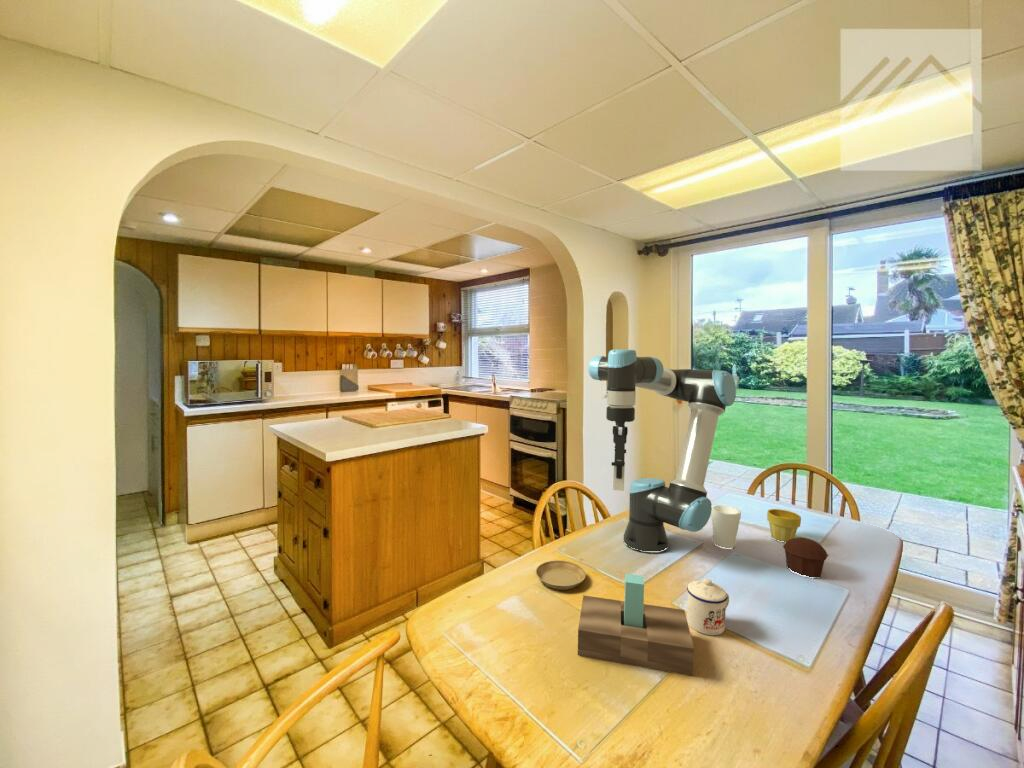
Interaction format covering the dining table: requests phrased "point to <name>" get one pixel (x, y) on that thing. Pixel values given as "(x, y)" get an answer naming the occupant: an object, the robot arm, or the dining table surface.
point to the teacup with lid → (706, 607)
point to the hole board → (636, 636)
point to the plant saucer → (560, 574)
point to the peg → (634, 600)
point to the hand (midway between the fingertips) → (618, 482)
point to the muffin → (805, 556)
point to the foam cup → (725, 525)
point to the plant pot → (783, 524)
